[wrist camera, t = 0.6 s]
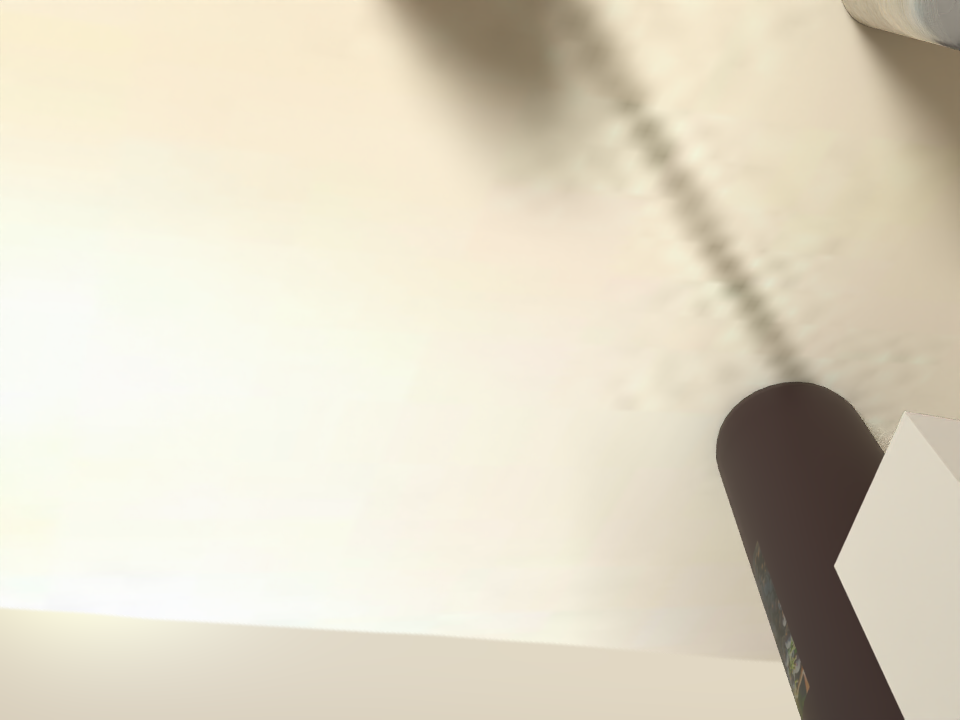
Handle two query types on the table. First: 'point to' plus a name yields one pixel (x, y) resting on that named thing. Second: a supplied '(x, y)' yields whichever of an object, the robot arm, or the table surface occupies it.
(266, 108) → the table surface
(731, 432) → the wine bottle
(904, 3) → the medium pin
